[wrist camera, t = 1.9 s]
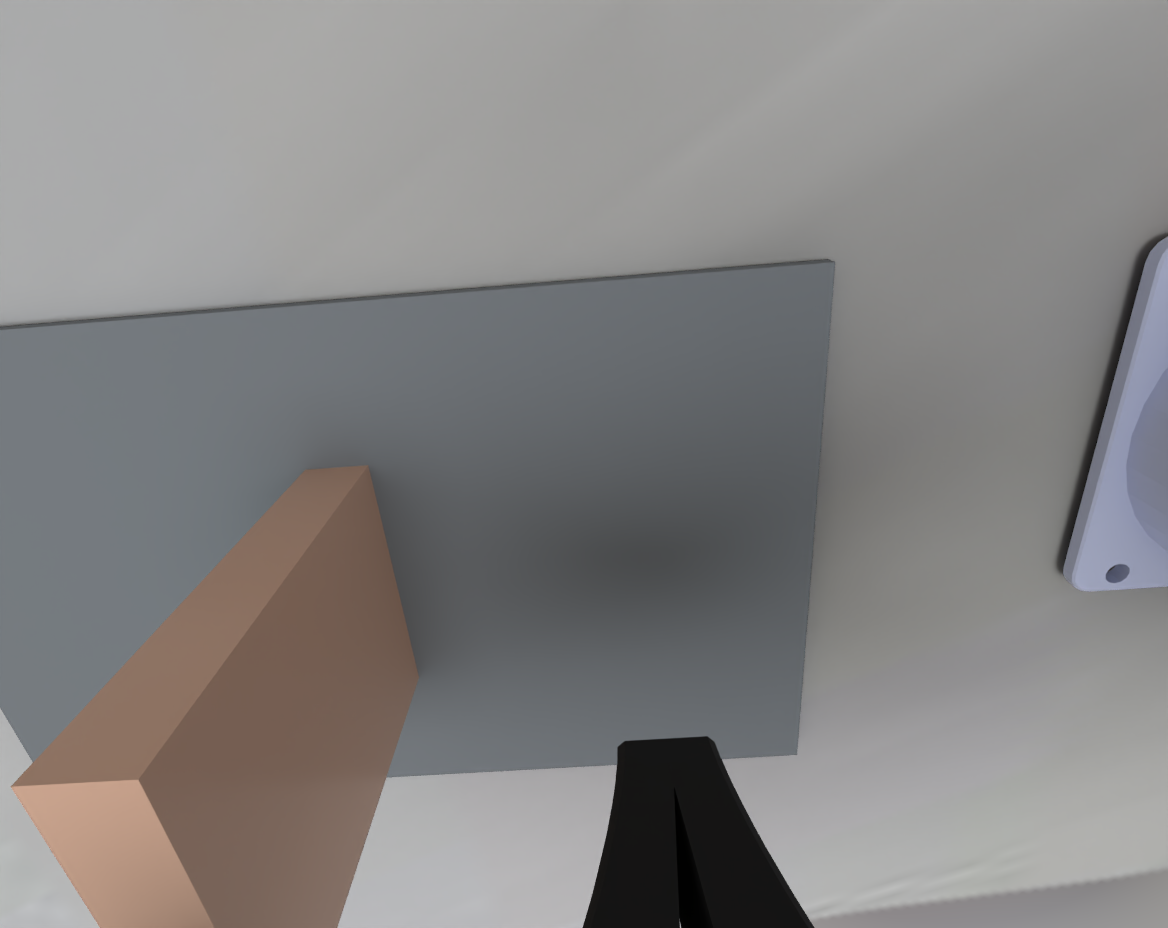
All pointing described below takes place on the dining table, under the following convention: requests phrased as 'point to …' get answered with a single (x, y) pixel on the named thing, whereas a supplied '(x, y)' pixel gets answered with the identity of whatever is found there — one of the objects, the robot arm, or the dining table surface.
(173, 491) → the mat
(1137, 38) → the dining table surface
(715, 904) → the robot arm
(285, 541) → the tile
